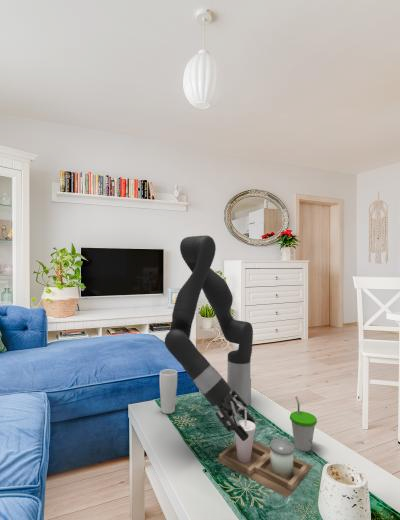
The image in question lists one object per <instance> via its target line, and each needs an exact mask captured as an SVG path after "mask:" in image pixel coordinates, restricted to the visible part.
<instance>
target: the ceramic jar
mask: <svg viewBox="0 0 400 520" xmlns="http://www.w3.org/2000/svg"><path fill="white" fill-rule="evenodd" d="M269 447H270V449H271V454H270V471H271V473H273V474H275V475H277V476H280V477H282V478H284V479H289V478H291V477H292V476H293V458H294V453H295V446H294V443H293V442H291V441H290V440H288V439H286V438H273V439H272V440H270V442H269Z"/></svg>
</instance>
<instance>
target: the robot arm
mask: <svg viewBox="0 0 400 520" xmlns="http://www.w3.org/2000/svg"><path fill="white" fill-rule="evenodd" d="M216 249H217V247H216V243H215V240H214V239H213V237H211V236H210V235H194V236H193V235H192V236H186V237H184V238H183V239H182V240H181V241H180V245H179V250H180V256H181V258H182V259H183V261H184V262H185V264H186V265H187V267H188V269H189V270H190V271H191V274H190V275H189V277H188V279H187V280H186V281H185V283H184V284H183V285H182V287H181V288H180V289H179V291H178V294H177V295H176V299H175V302H174V306H173V310H172V316H171V324H170V328H169V331H168V332H167V333H166V335H165V337H164V344H165V348H166V349H167V350H168V352H169V353H170V354H171V355H172V356H173V357H174V358H175V359H176V361H177V362H178V363H179V364H180V365H181V366H182V368H183V370H184V371H185V373H186V374H187V375H188V376H189V377H190V379H191V381H193V383H194V384H195V386H196V387H197V389H198V390H199V391H200V392H201V394H202V396H204V398H205V399H206V400H207V401H208V403H209V404H210V406H211V407H215V406H217V408H218V410H217V411H216V412H215V415H216V417H217V418H218V420H219V421H220V422H221V424H222V425H223V426H224V428H225V429H226V431H227V432H229V433H230V432H231V431H234V433H235V432H236V433H237V435H238V436H239V437H240V438H241V440H242V441H245V440H246V439H247V438H248V436H249V435H248V434H247V432H246V431H245V430H244V429H243V427H242V426H241V425H239V422H238V420H239V419H238V416H239V415H240V416H241V418H242V420H245V410H246V411H247V420H248V421H251V422H253V423H254V424H255V422H256V420H255V419H254V417H252V415H251V414H250V413H249V411H248V408H247V407H249V406H250V404H251V402H252V378H251V362H252V359H251V358H252V353H253V338H254V329H253V328H254V327H253V324H251V323H250V322H249V321H243V320H237V319H235V318H234V317H233V316H232V314H231V307H232V305H233V301H234V298H233V297H234V296H233V294H232V292H231V289H230V287H229V285H228V283H227V281H226V280H225V279H224V278H223V277H221V276H220V275H219V274H218V273H217V272H215V270H213V269H212V268H211V267H212V264H213V261H214V259H215V255H216V251H217V250H216ZM202 291H203V294H204V296H205V298H206V300H207V302H208V303H209V305H210V307H211V308H212V312H213V313H214V315H215V317H216V319H217V322H218V324H219V326H220V329H221V332H222V334H223V337H224V339H225V340H226V341H228V342H229V343H232V344H236V345H238V348H237V349H236V350H235V349H234V350H231V351H229V352H228V354H227V373H226V374H227V377H226V378H227V381H226V379H224V378H223V376H222V375H221V374H220V372H219V371H218V370H217V369H216V368H215V367H214V366H212V365H211V363H210V362H209V360H207V358H206V357H205V356H204V355H203V354H202V353H201V352H200V351H199V350H198V348H197V347H196V346H195V344H194V343H193V342H192V340H191V339H190V337H191V330H192V326H193V321H194V319H195V314H196V310H197V307H198V301H199V297H200V294H201V292H202ZM234 422H235V423H234Z"/></svg>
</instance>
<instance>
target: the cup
mask: <svg viewBox="0 0 400 520" xmlns="http://www.w3.org/2000/svg"><path fill="white" fill-rule="evenodd" d="M295 400H296V403H297V411H293V412H291V413H290V414H289V419H290V421H291V427H292V429H291V430H292V435H293V442H294V443H293V445H294V449H296V450H298V451H301V452H303V453H304V452H305V453H306V452H309V451H312V450H311V449H312V445H313V440H314V433H315V427H316V425H317V423H318V421H317V420H318V419H317V417H316V416H315V415H314V414H312V413H310V412H307V411H301V410H300V407H301V406H300V402H299V398H298V396H297V395H296V396H295Z"/></svg>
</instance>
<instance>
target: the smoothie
mask: <svg viewBox="0 0 400 520" xmlns="http://www.w3.org/2000/svg"><path fill="white" fill-rule="evenodd" d="M247 412H248V410H247V411H246V410H245V420H244V419H237V420H238V422H239V425H241V426H242V427H243V429H244V430H245V431H246V432H247V434H248V435H249V436H248V438H247V439H246V440H245V441H242V440H241V438H240V437H239V436H238V435H237V433H236V432H235V431H234V437H235V439H234V440H235V442H236V448H237V458H238V460H239V461H240V462H243V463H247V462H249V461H250V460H251V452H252V445H253V440H254V438H255V432H256V424H255V423H253V422H251V421H248V420H247ZM234 423H235V422H234Z"/></svg>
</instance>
